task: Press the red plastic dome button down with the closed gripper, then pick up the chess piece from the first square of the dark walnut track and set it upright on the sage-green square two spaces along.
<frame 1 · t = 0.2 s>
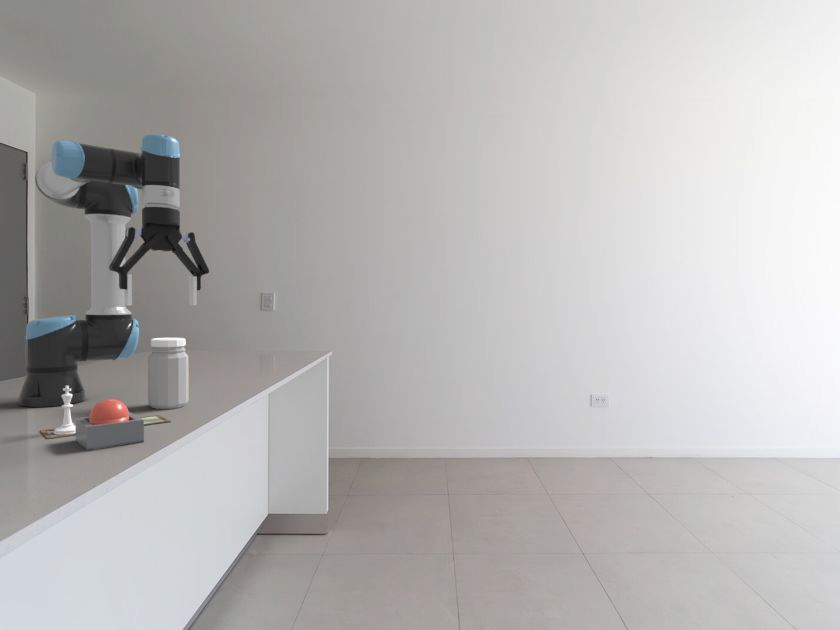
hand: (161, 305, 123), 27 cm above the table, tool pointing down, fingers open, 13 cm apart
track: (108, 426, 125), on the table
dome housing: (109, 441, 113), on the table
jar: (168, 406, 148), on the table
dome: (109, 416, 113), point 5 cm above the table, slide at 0.0 cm
chess piece: (67, 432, 120), resting on track
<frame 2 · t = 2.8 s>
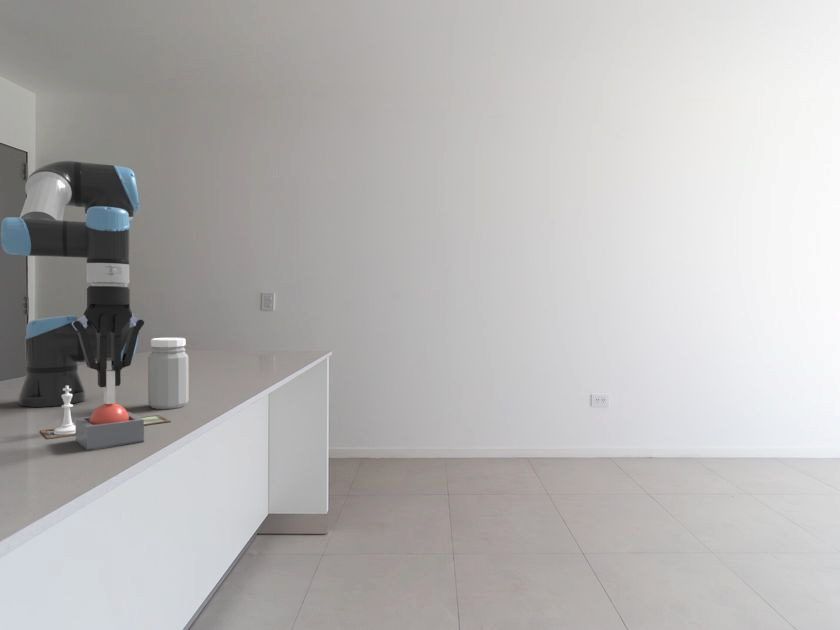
hand: (109, 402, 112), 8 cm above the table, tool pointing down, fingers closed
dome: (109, 420, 113), point 4 cm above the table, slide at 0.9 cm, touching gripper
everything else where it was.
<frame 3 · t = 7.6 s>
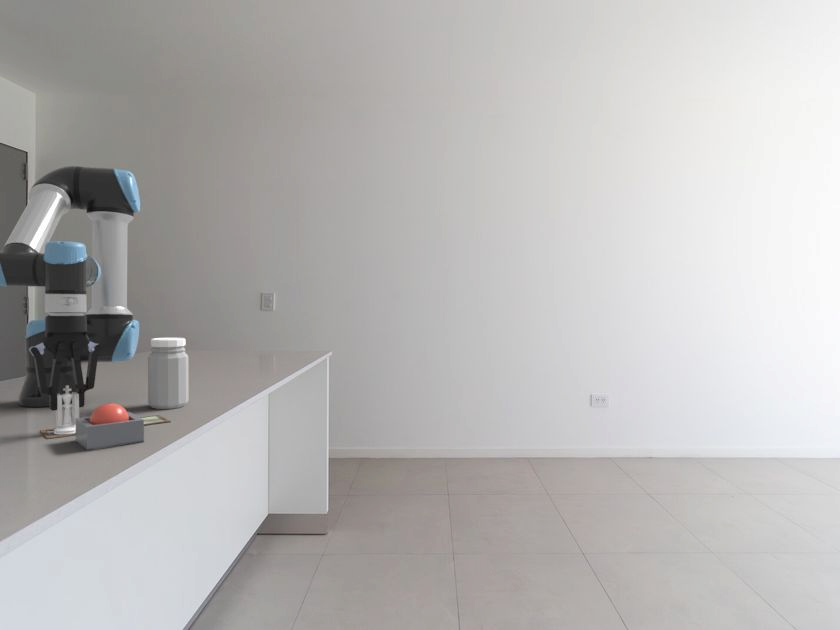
hand: (67, 423, 120), 2 cm above the table, tool pointing down, fingers closed on chess piece, 2 cm apart
dome: (109, 420, 113), point 4 cm above the table, slide at 0.9 cm
chess piece: (67, 432, 120), resting on track, touching gripper
everything else where it was.
when the fingers open (3 cm above the table, at t = 12.1 s): chess piece stays where it is, resting on track.
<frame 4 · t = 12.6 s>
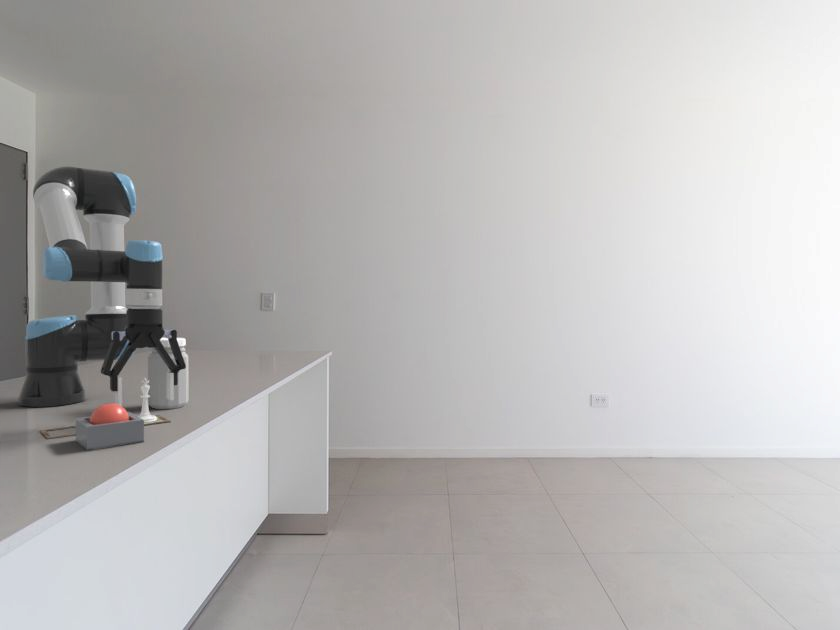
hand: (145, 402, 130), 4 cm above the table, tool pointing down, fingers open, 10 cm apart
chess piece: (145, 421, 130), resting on track
everything else where it was.
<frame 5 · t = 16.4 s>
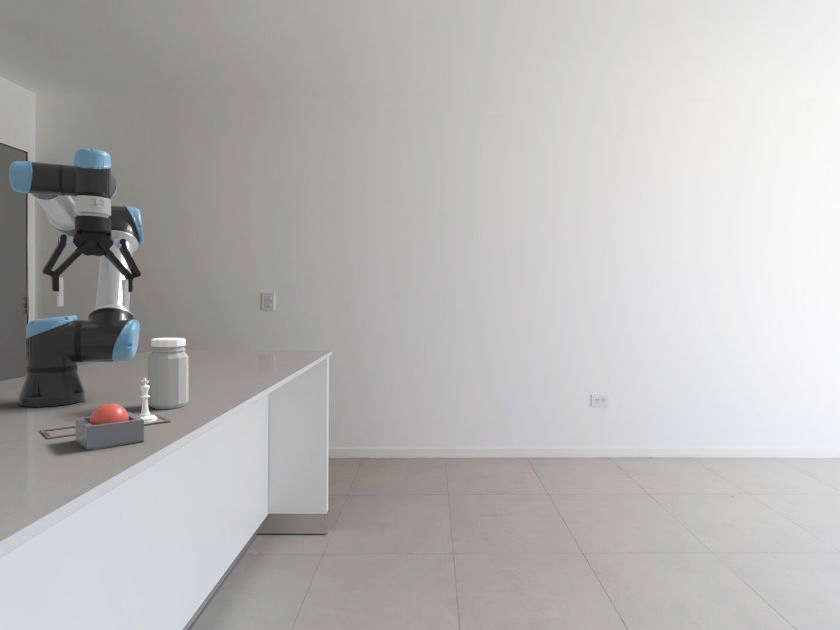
hand: (93, 306, 133), 27 cm above the table, tool pointing down, fingers open, 13 cm apart
nothing on the table moved.
at the end: chess piece 0.0 cm from the target spot, resting on track; chess piece tilted 0°; dome slide at 0.9 cm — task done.
